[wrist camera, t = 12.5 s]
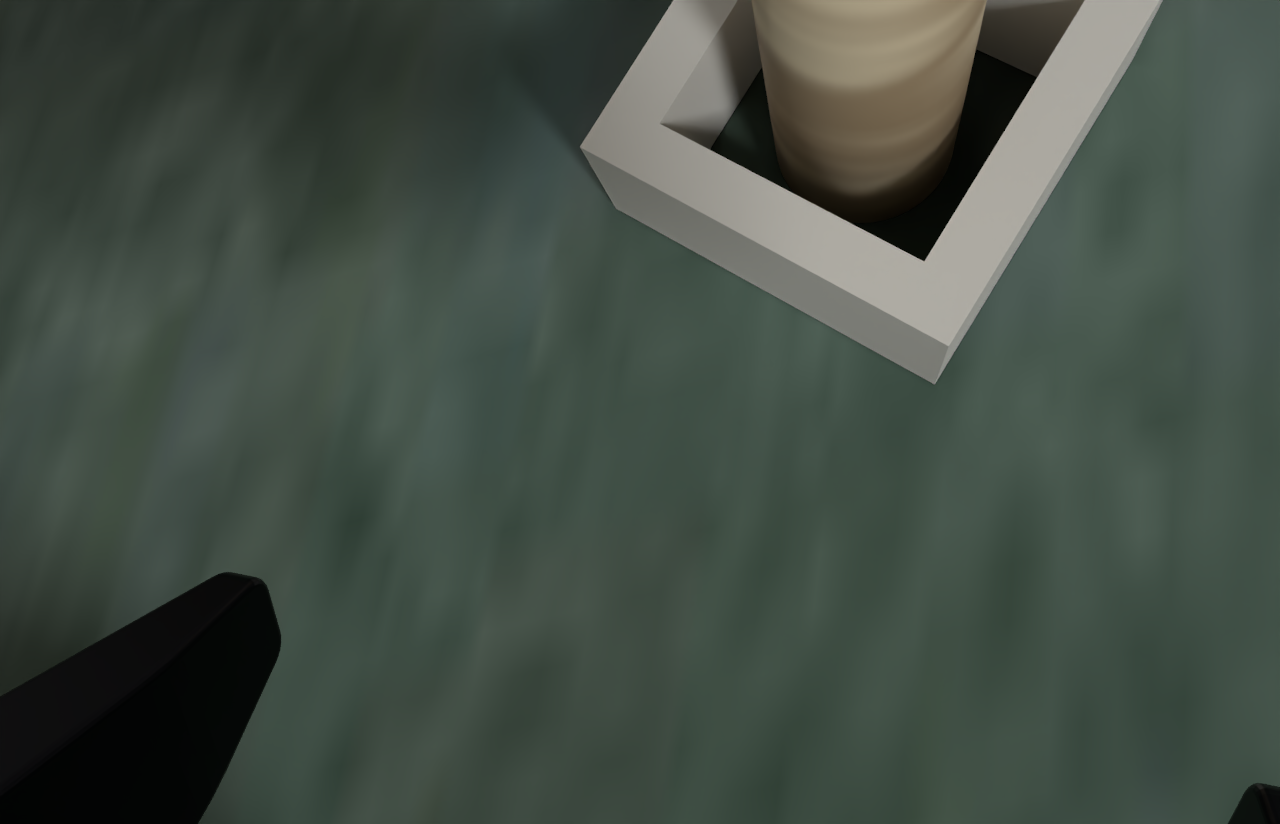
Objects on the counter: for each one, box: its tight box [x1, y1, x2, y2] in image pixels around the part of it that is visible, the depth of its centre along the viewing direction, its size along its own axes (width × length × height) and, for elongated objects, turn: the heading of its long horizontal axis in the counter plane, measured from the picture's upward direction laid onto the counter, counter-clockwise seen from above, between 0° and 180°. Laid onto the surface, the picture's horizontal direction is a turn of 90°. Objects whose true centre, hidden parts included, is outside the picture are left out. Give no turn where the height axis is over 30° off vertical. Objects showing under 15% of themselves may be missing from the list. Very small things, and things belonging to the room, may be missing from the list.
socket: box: [580, 0, 1163, 384], centre depth 23 cm, size 8×8×4 cm
